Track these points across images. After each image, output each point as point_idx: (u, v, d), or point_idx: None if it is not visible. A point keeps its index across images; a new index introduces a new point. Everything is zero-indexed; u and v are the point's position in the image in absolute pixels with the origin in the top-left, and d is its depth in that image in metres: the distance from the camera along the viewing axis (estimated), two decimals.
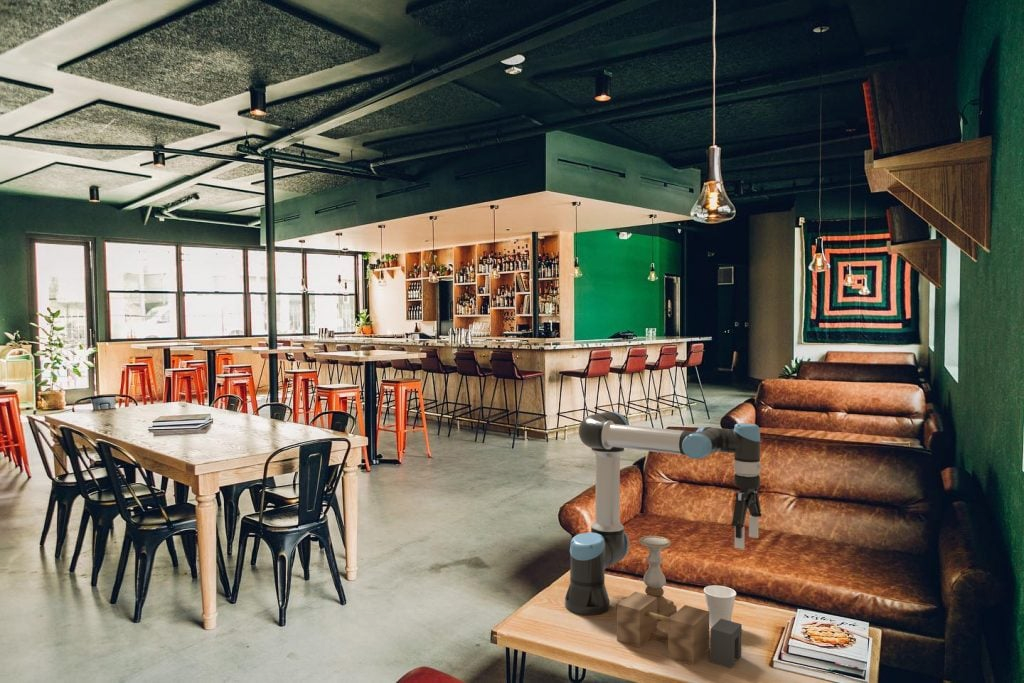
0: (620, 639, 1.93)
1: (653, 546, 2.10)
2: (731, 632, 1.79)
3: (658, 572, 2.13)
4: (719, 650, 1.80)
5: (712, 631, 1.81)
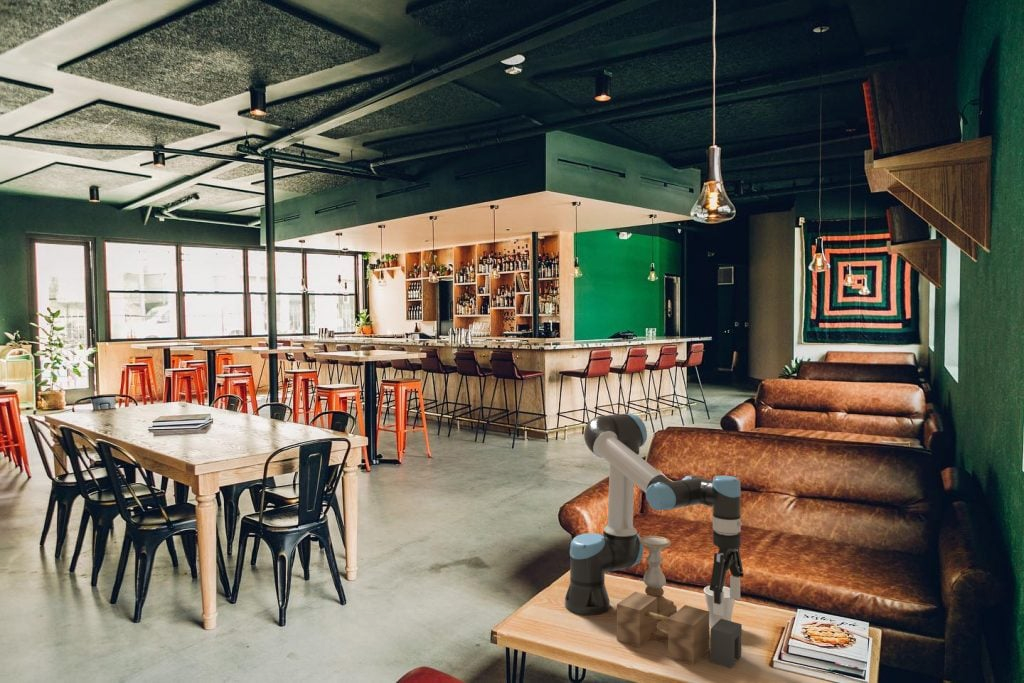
0: (620, 639, 1.93)
1: (653, 546, 2.10)
2: (731, 632, 1.79)
3: (658, 572, 2.13)
4: (719, 650, 1.80)
5: (712, 631, 1.81)
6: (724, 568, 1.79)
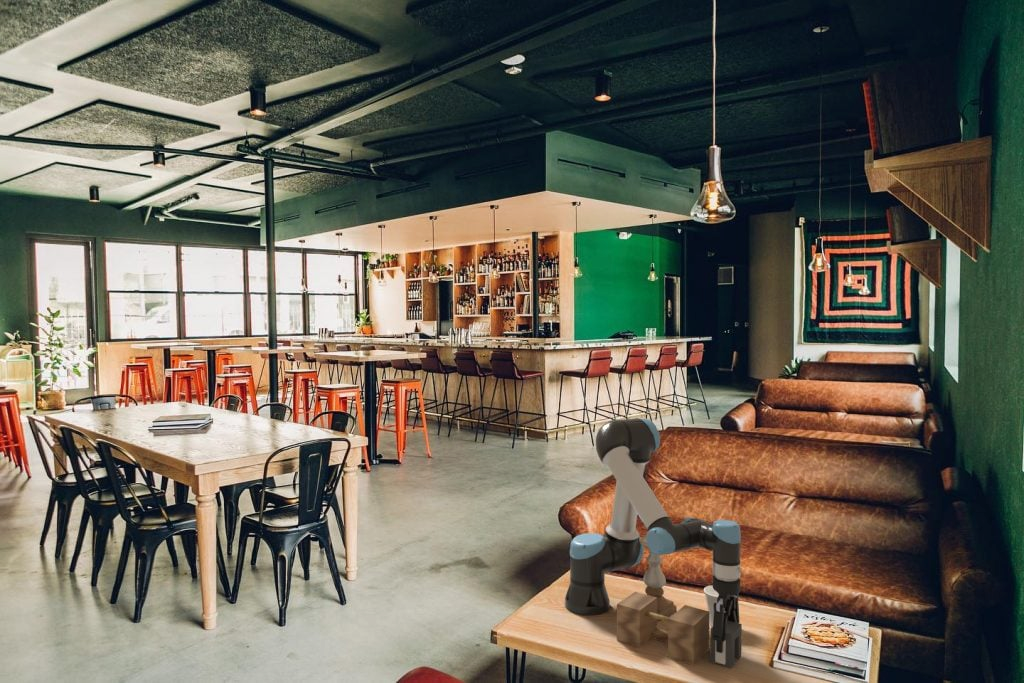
0: (620, 639, 1.93)
1: None
2: (731, 632, 1.79)
3: (658, 572, 2.13)
4: None
5: (712, 631, 1.81)
6: (724, 616, 1.79)
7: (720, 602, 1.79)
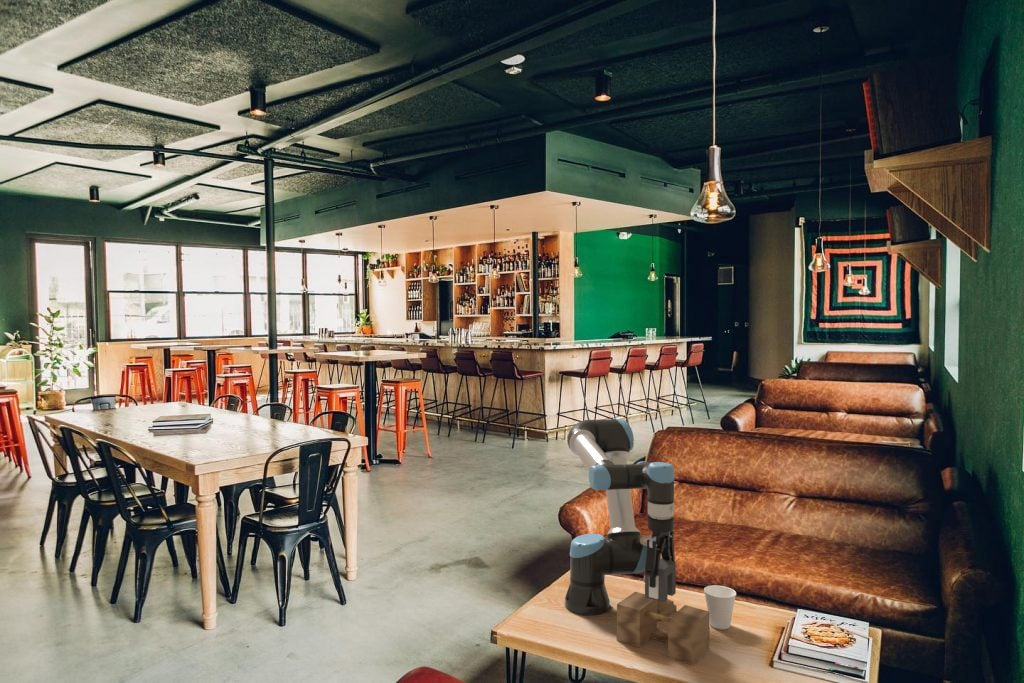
0: (620, 639, 1.93)
1: None
2: (664, 568, 1.86)
3: None
4: None
5: None
6: (658, 552, 1.86)
7: (653, 539, 1.86)
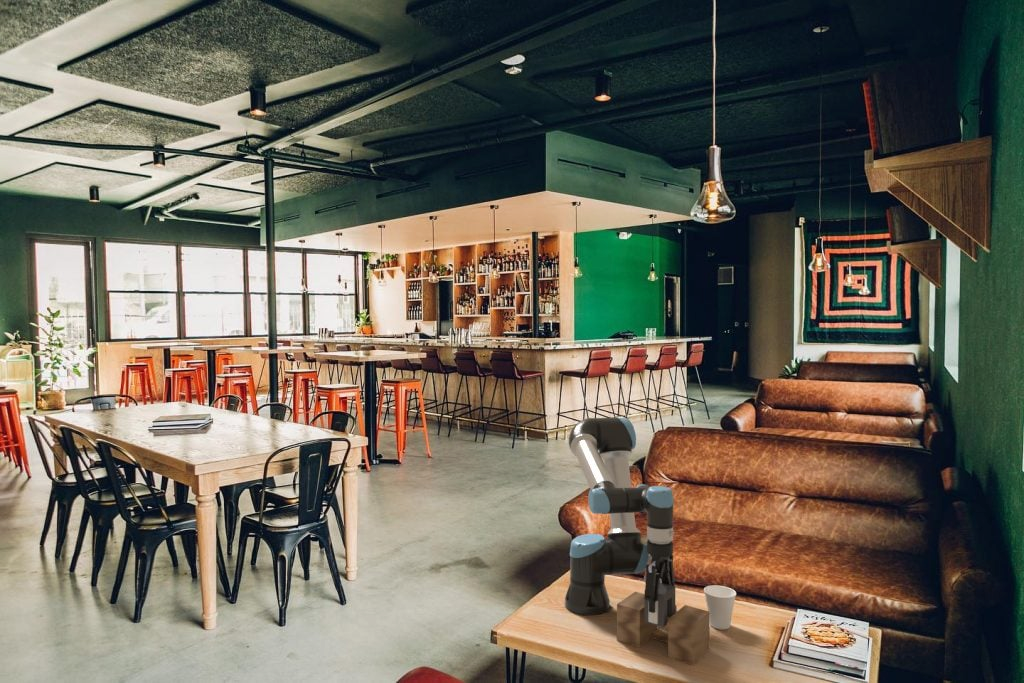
0: (620, 639, 1.93)
1: None
2: (663, 593, 1.86)
3: None
4: None
5: None
6: (657, 577, 1.86)
7: (652, 564, 1.86)
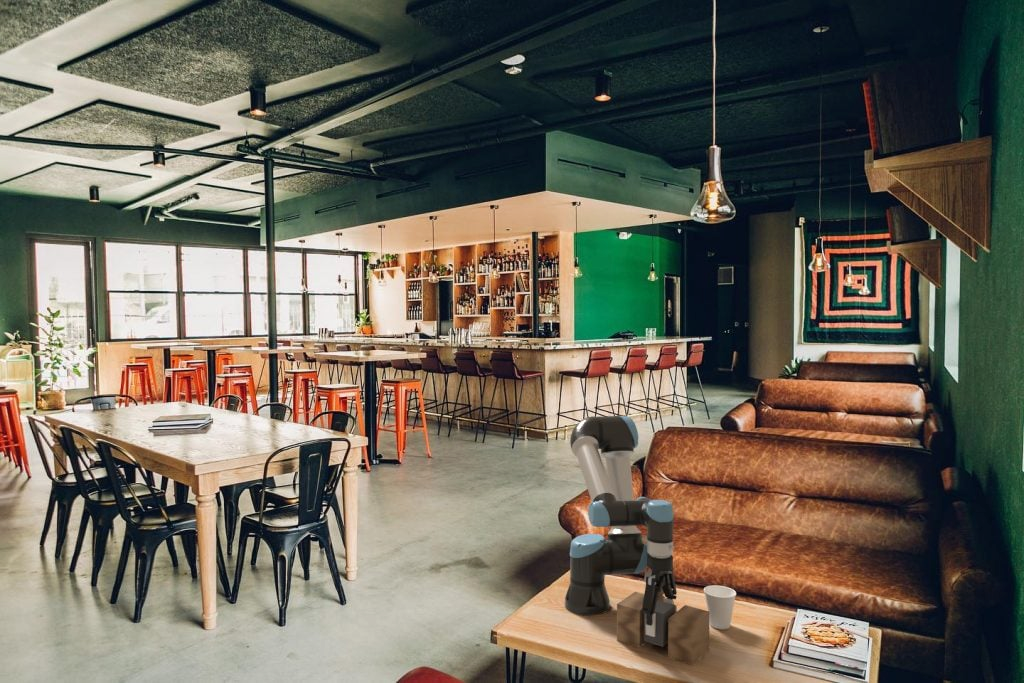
0: (620, 639, 1.93)
1: None
2: (663, 612, 1.86)
3: None
4: None
5: None
6: (656, 590, 1.86)
7: (652, 577, 1.86)
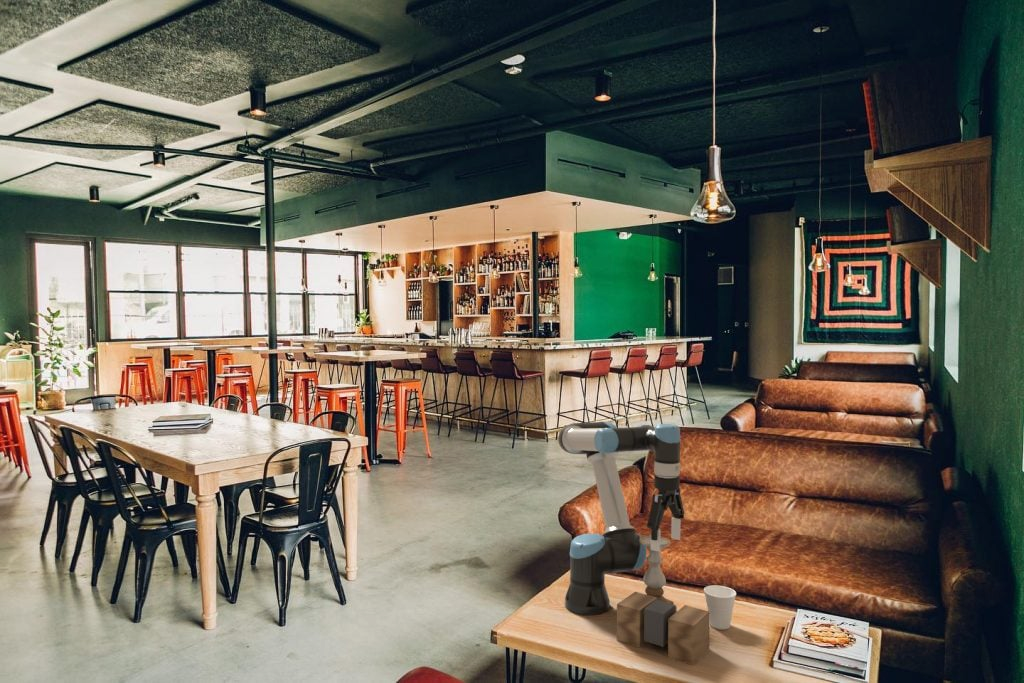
0: (620, 639, 1.93)
1: None
2: (663, 612, 1.86)
3: (658, 572, 2.13)
4: (652, 629, 1.87)
5: (645, 611, 1.88)
6: (662, 508, 1.92)
7: (659, 495, 1.92)
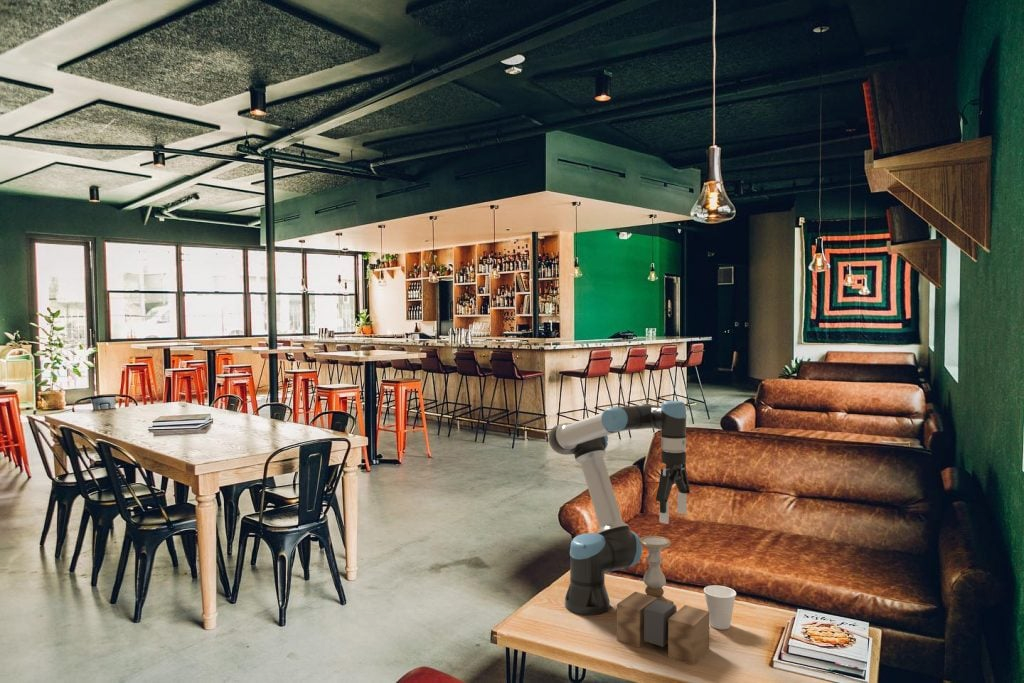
0: (620, 639, 1.93)
1: (653, 546, 2.10)
2: (663, 612, 1.86)
3: (658, 572, 2.13)
4: (652, 629, 1.87)
5: (646, 611, 1.88)
6: (670, 482, 1.98)
7: None
